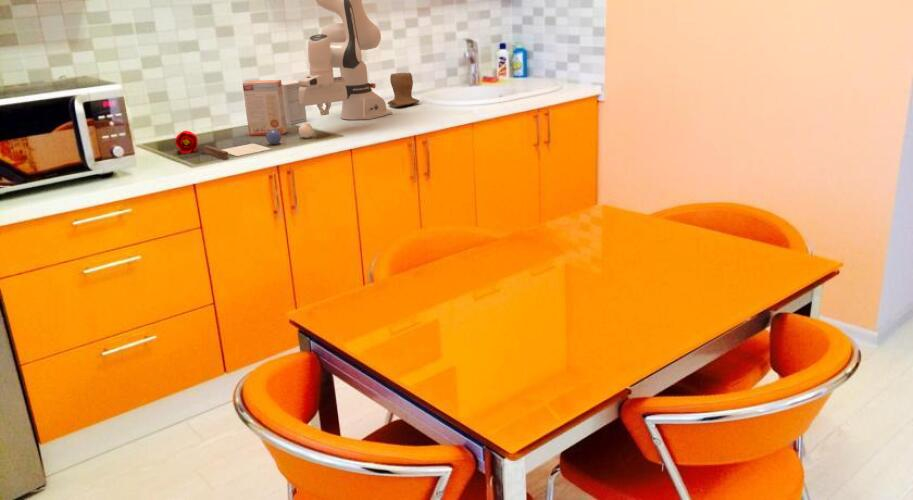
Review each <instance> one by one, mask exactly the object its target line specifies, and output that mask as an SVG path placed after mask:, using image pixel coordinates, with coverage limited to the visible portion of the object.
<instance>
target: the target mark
mask: <svg viewBox="0 0 913 500" xmlns="http://www.w3.org/2000/svg"><path fill="white" fill-rule="evenodd" d="M221 150H223V151H226V152H228V155H231V156H234V157H241V156H247V155H250V154H256V153H261V152H266V151H270V150H272V148H271V147H267V146H264V145H260V144H257V143H249V144H244V145H239V146H233V147H227V148H224V149H223V148H222V149H221Z"/></svg>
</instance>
